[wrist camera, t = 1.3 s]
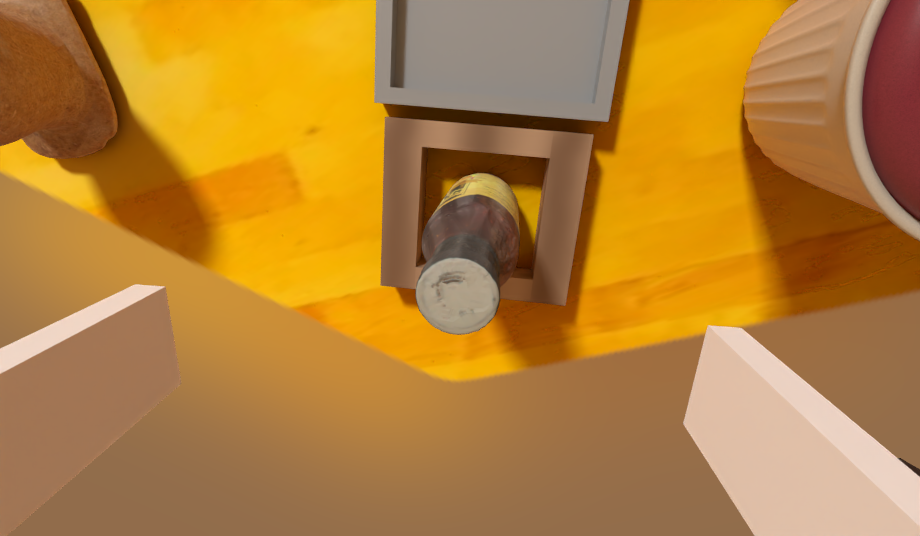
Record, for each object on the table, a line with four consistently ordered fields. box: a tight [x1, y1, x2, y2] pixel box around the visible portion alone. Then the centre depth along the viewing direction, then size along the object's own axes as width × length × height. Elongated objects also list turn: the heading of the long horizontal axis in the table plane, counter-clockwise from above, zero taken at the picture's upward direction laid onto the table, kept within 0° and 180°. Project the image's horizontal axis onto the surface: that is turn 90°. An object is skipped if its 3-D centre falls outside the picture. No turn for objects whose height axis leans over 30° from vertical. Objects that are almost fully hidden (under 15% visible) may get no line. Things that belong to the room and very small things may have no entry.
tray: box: [375, 0, 629, 122], centre depth 34 cm, size 18×14×2 cm
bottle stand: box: [381, 117, 594, 306], centre depth 38 cm, size 16×14×3 cm
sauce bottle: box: [416, 173, 520, 335], centre depth 30 cm, size 7×6×20 cm
